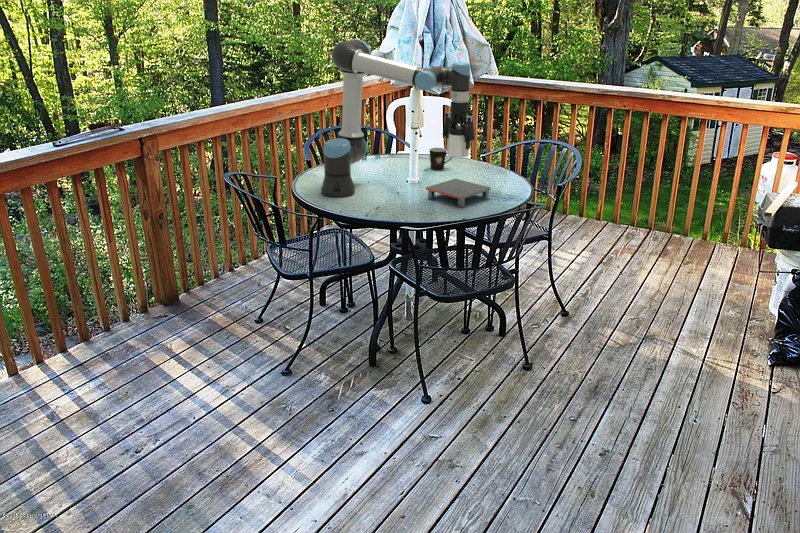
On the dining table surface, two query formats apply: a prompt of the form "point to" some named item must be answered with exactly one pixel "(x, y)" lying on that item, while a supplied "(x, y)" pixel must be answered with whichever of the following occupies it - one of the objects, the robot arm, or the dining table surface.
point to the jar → (456, 141)
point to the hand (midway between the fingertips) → (457, 154)
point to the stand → (458, 190)
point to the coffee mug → (438, 158)
